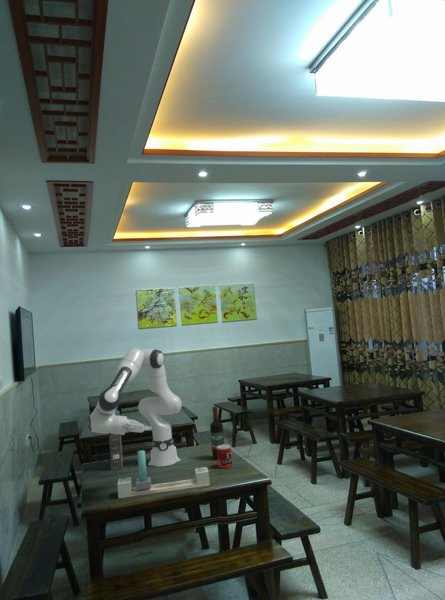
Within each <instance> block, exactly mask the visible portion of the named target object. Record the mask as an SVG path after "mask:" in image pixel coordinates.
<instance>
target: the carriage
mask: <svg viewBox="0 0 445 600" xmlns="http://www.w3.org/2000/svg"><path fill="white" fill-rule="evenodd" d="M137 460H138V461H137V465H138V475H139V476H138V477H139V478H136V479H135V487H136V490H140V489H147V488H151V485H152V479H151V478H152V477H151V476H148V477H147V474H148V473H147V462H146V451H145V450H144V449H143V450H137Z"/></svg>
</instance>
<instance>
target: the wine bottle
mask: <svg viewBox="0 0 445 600" xmlns="http://www.w3.org/2000/svg"><path fill="white" fill-rule="evenodd" d="M212 415H213V416H212V417H213V421H212V422H211V423H210V425H209V431H210V441H211V451H212V452H211V453H212V460H213V461H218V455H217V446H219V445H225V436H224V425H223V423H222V422H221V421H220V420H219V413H218V406H212Z"/></svg>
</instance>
